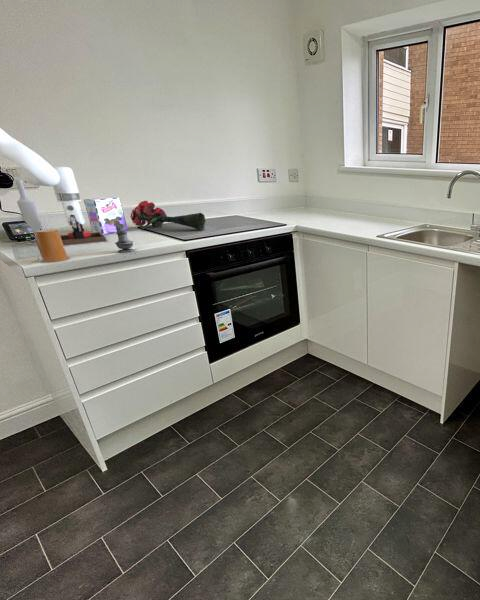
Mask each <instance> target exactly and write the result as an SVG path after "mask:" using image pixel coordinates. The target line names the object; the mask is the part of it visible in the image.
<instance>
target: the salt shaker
mask: <svg viewBox="0 0 480 600" xmlns="http://www.w3.org/2000/svg"><path fill="white" fill-rule="evenodd" d="M116 230H117V232H115V233H116V235H117V239H118V240H117V241H116V242H115V243H114V244H115V246H116V247H117V248H118V249H119V250H118V253H120V254H124V253H133V252H135V249H133V248H132V247H133V245H134V244H133V243H134V241H132V240H130V239H129V237H128V232H127V230H125V226H124V225H123V224H121V223H120V222H118V224H116Z"/></svg>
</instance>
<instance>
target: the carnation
mask: <svg viewBox="0 0 480 600" xmlns="http://www.w3.org/2000/svg"><path fill="white" fill-rule="evenodd" d="M155 207H156V204H155V203H154V202H152V201H151V202H149V201H148V200H143V201H140V202H139V203H138V204H137V205H136V207H134V209H132V210H131V213H130V219H131V223H133V224H134V225H135V226H138V227H142V228H141V231H144V229H145V228H147V227H149V226H150V225H151V227H153V228H160V227H162V226H163V225H164V223H171V224H173V223H174V224H177V225H181V226H185V227H189V228H193V229H195V230H200V231H204V230H205V228H206V216H205V214H204V213H203V212H198V213H197V212H196V213H190V214H189V213H188V214H184V215H176V216H175V215H174V216H168V215H167V213H166V212H165V210H163V209H162V208H160V207H156V208H155ZM144 225H145V226H144Z"/></svg>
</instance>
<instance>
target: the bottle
mask: <svg viewBox="0 0 480 600" xmlns="http://www.w3.org/2000/svg"><path fill="white" fill-rule="evenodd" d="M14 182H15V185H16V188H17V191H18V193H19V198H18V200H17V201H16V203H17V206H18V209H19V212H20V215H21V216H22V220H23V221H25V222H26V223H28V225H29V226H30V227H31V229H33V230H40V229H41V230H43V229H44V228H43V225H42V222H41V218H40V215H39V212H38V209H37V206H36V203H35V200H33V199H31V198H30V197H29V196H28V195H27V192H26V188H25V186H24V182H23V179H15V180H14ZM25 222H24V223H25ZM29 240H30V241H31V242H35V243H36V240H35V239H34V240H31V239H30V238H29Z"/></svg>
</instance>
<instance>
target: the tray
mask: <svg viewBox="0 0 480 600" xmlns="http://www.w3.org/2000/svg"><path fill="white" fill-rule="evenodd" d="M90 234H91V236H88V237H84V238H83V239H74V237H69V236H68V234H64V235H63V234H62V235H60V236H61V239H62V242H63V245H64V246H73V245H82V244H83V245H84V244H92V243H101V242H107V239H106V236H105V235H102V234H101V233H100V232H97V233H93V232H90Z"/></svg>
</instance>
